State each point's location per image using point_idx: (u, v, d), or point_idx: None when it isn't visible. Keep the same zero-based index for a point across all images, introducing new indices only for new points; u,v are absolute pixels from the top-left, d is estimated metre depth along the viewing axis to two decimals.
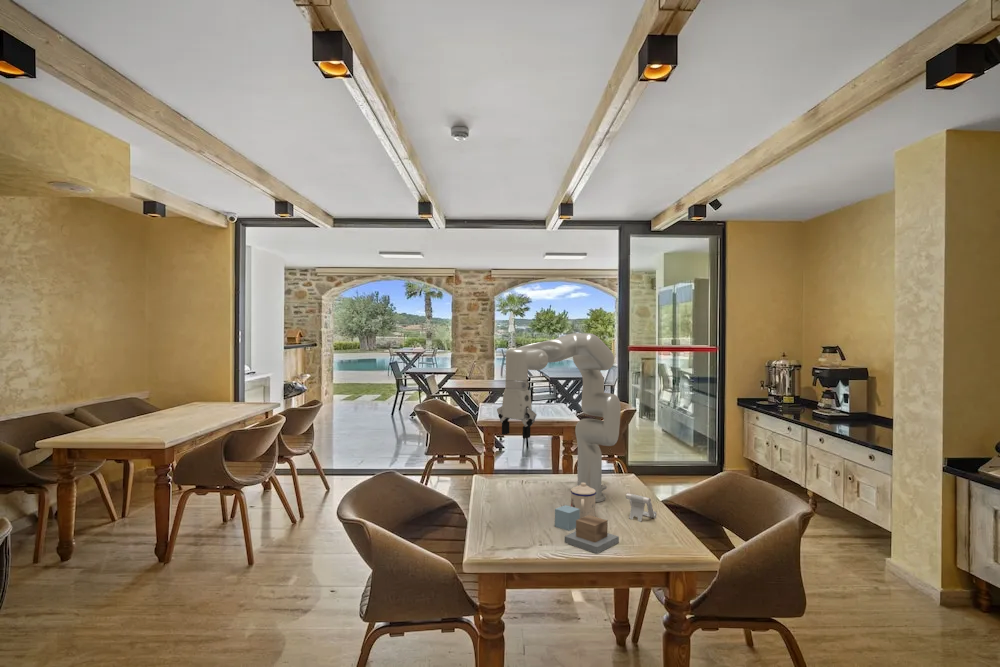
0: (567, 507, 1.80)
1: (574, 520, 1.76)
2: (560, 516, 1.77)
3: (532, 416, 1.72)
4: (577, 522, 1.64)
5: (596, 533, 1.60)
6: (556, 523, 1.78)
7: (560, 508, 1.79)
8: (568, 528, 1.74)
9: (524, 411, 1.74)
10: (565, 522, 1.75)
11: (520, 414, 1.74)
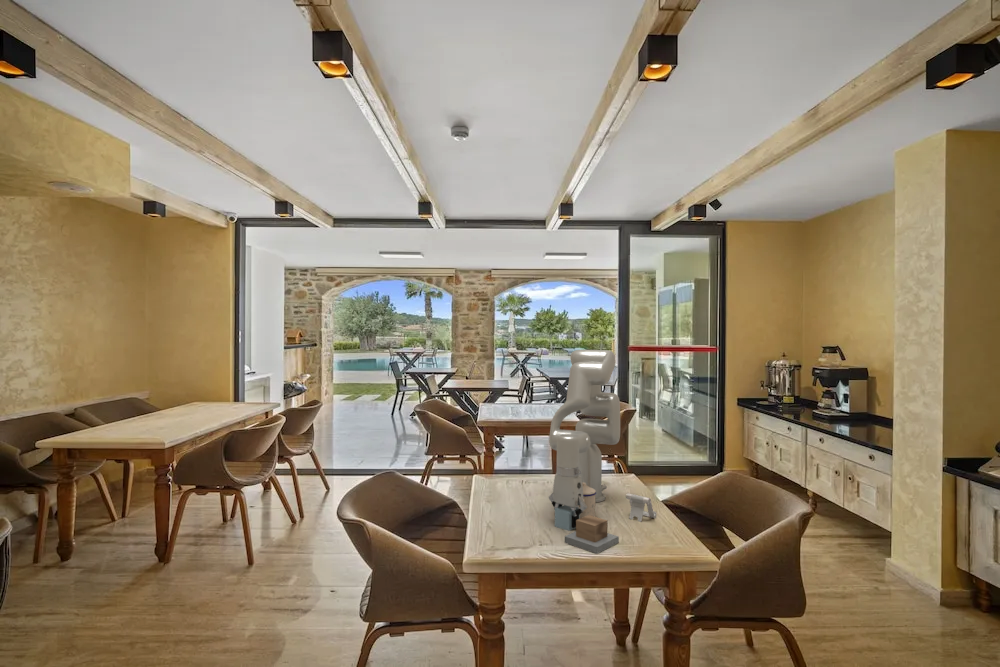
0: (567, 507, 1.80)
1: None
2: (560, 515, 1.77)
3: (582, 508, 1.73)
4: (577, 522, 1.64)
5: (596, 533, 1.60)
6: (556, 523, 1.78)
7: (560, 508, 1.79)
8: (568, 528, 1.74)
9: (576, 502, 1.74)
10: (565, 522, 1.75)
11: (573, 502, 1.74)
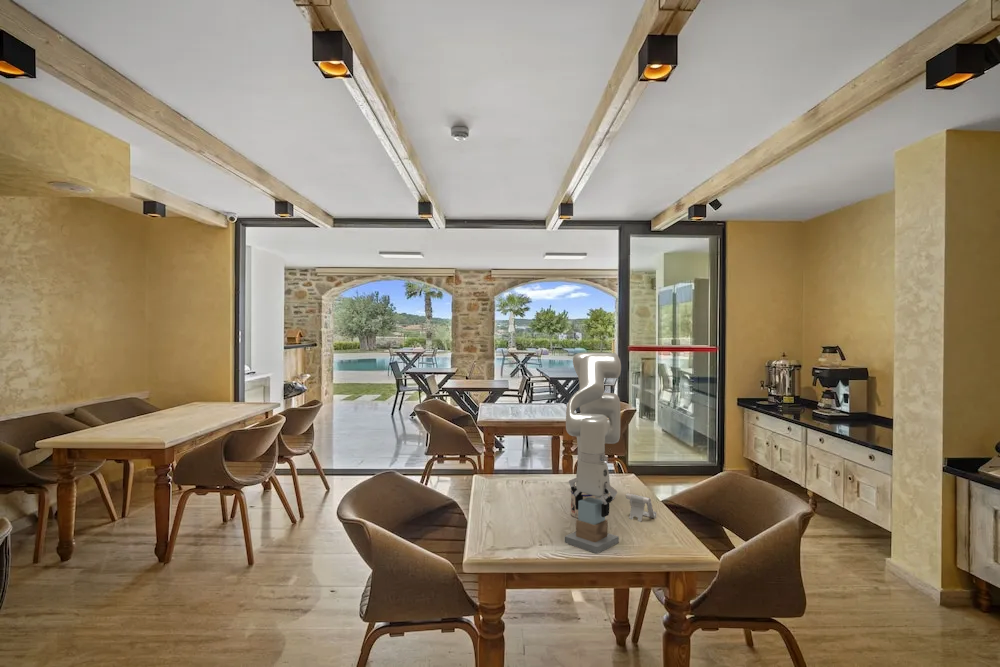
0: (592, 499, 1.66)
1: (600, 513, 1.62)
2: (584, 508, 1.63)
3: (612, 494, 1.58)
4: (577, 522, 1.64)
5: (596, 533, 1.60)
6: (580, 516, 1.64)
7: (584, 500, 1.65)
8: (593, 522, 1.60)
9: (603, 487, 1.60)
10: (590, 515, 1.61)
11: (598, 491, 1.60)
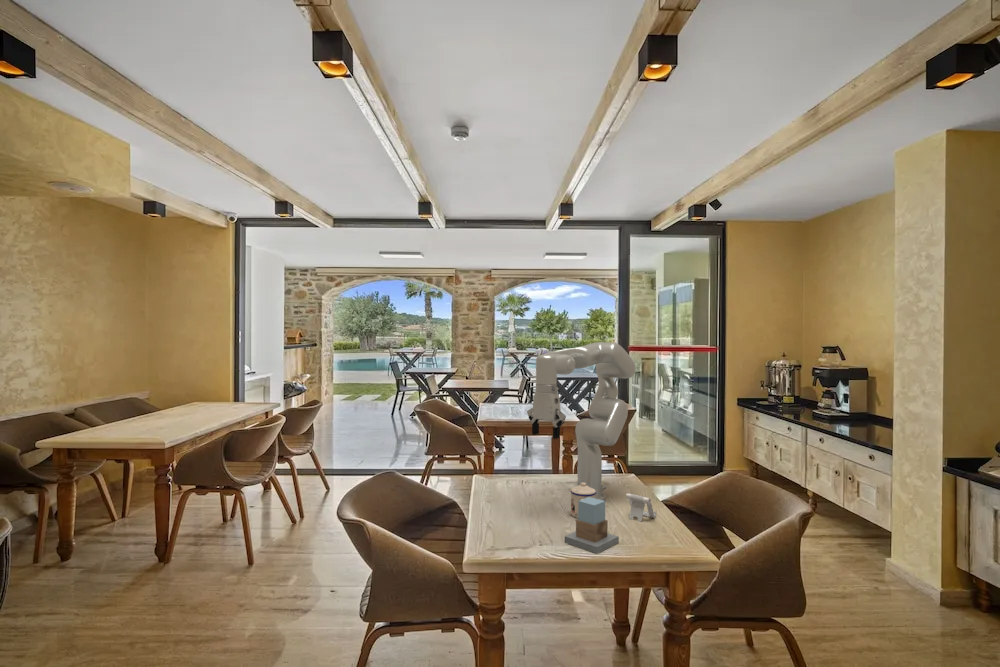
0: (592, 499, 1.66)
1: (600, 513, 1.62)
2: (584, 508, 1.63)
3: (562, 418, 1.85)
4: (577, 522, 1.64)
5: (596, 533, 1.60)
6: (580, 516, 1.64)
7: (584, 500, 1.65)
8: (593, 522, 1.60)
9: (554, 413, 1.86)
10: (590, 515, 1.61)
11: (550, 416, 1.86)
